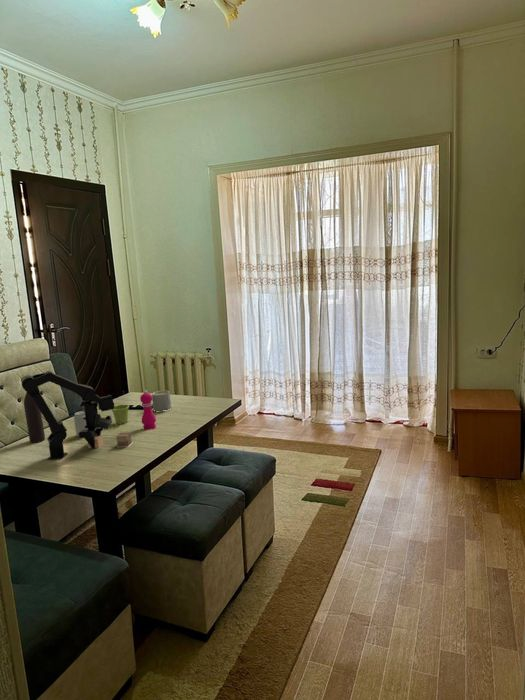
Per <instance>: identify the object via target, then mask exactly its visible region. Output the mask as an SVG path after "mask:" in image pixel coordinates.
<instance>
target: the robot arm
mask: <svg viewBox="0 0 525 700" xmlns="http://www.w3.org/2000/svg"><path fill="white" fill-rule="evenodd" d="M20 381H21V382H20V384H21V388H22V389H23V390H24V391H25V393H28V394H29V395H30V396H31V397H32V398H33V400H34V401H35V403H36V405H37V406H38V408H39V410H40V411H41V415H42V417H43V418H44V419H45V421H46V422H47V425H48V427H49V430H50V434H49V436H47V438H46V440H47V442H48V450H49V455H50V456H49V457H47V460H61V459H63V458H65V456H67V455H68V452H65V449H64V448H65V447H64V440H65V439H67V436H68V432H67V431H68V429H67V427H66V426H65V425H64V423H63V421H62V419H61V420H58V419H57V418H56V417H55V416H54V414H53V412H52V411H51V408H50V407H49V406H48V404H47V402H46V400H45V399H44V396H42V395H43V394H41V391H40V389H39V387H40V386H41V385H44V384H47V383H49V382H50V383H51V384H55V385H57V386H58V387H62V388H64V389H67V390H69V391H71V392H73V393H75V394H76V395H78V396H79V397H81V398H82V399H81V401H80V402H79V403H78V407H83V411H84V413H85V417H84V418H83V419H84V420H86V426H85V428H88V429H83V430H82V431H81V432H80V433H79V434H78V435H79V437H78V439H84V440H85V441H86V443H87V444H88V443H89V445H90V446H91V447H92V448H91V449H95V436H102V432H103V430H109V429H110V428H111V426H112V423H113V419H112V416H111V415H107V416H106V417H105V416H104V417H102V416H101V413H99V411H101V412H102V413H103V412H108V411H112V410H113V409H114V406H115V403H114V400H113V399H114V398H113V396H112V395H111V394H108V395H106V396H99V395H98V394H97V392H96V390H95V388H93V387H92V386H90V385H87V384H82V383H77V382H74V381H72V380H69V379H68V378H65V377H63V376H61V375H58V374H56V373H53V372H52V371H50V370H49V371H46V372H42V373H38V374H34V375H24V376H23V377H22V378H21V380H20ZM83 399H84V400H83ZM98 410H99V411H98Z"/></svg>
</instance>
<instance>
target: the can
mask: <svg viewBox="0 0 525 700" xmlns="http://www.w3.org/2000/svg"><path fill="white" fill-rule="evenodd" d="M84 417H85V413H84V410H81V411H77V412H74V416H73V421H74V427H75V433H76V434H75V435H76V436H77V437H78V438H79V435H78V434H79V433H80V432H81V431H82V430H83V429H88V428H85V426H86V420H84V419H83V418H84Z"/></svg>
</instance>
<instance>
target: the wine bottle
mask: <svg viewBox="0 0 525 700" xmlns="http://www.w3.org/2000/svg"><path fill="white" fill-rule="evenodd" d="M25 393H26V394H25V396H24V399H23V409H24V413H25V414H24V415H25V419H26V427H27V433H28V439H29V442H30V443H32V444H35V443H41V442H43V441H45V440H46V436H45V434H46V433H45V429H44V422H43V415H42V413H41V411H40V410H39V408H38V406H37V405H36V403H35V401H34V400H33V398H32V397H31V396H30V395H29V394H28V393H27V392H25Z"/></svg>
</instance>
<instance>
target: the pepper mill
mask: <svg viewBox="0 0 525 700" xmlns="http://www.w3.org/2000/svg"><path fill="white" fill-rule="evenodd" d="M139 398H140V399H139V401H140V402H141V406H142V408H143V413H142V416H141V423H142V424H143V430H146V431H147V430H155V429H156V428H157V424H156V421H157V417H156V414H155V413H154V411H153V409H152V408H153V407H151V405H152V403H153V401H152V394H151V393H148V390H144V391H143V393H142V394H141V395H140V397H139ZM154 428H155V429H154Z"/></svg>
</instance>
